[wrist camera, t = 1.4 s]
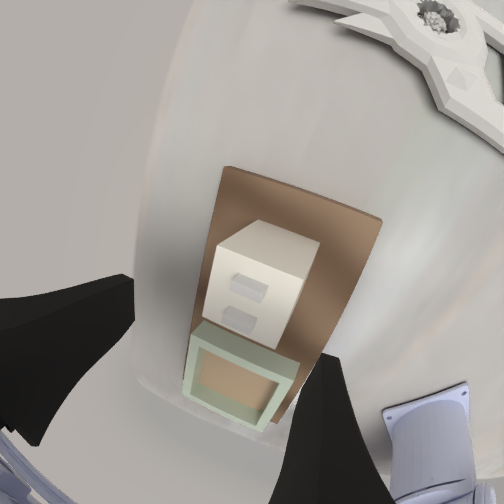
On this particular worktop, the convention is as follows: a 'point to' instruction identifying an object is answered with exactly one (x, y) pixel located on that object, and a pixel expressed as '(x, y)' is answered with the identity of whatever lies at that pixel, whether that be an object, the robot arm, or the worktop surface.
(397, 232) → the worktop surface
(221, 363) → the holder
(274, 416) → the board
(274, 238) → the plug
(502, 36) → the gun
